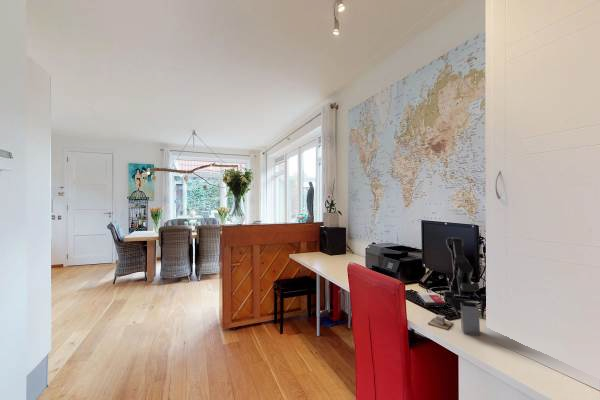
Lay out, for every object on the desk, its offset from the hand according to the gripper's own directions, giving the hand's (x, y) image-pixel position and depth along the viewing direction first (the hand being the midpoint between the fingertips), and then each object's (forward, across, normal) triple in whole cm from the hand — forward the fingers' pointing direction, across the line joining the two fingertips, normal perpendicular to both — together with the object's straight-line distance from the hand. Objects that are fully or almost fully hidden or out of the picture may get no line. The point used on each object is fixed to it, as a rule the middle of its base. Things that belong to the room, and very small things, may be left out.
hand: (470, 316), depth 115 cm
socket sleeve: (+4, 0, +6) cm, 7 cm away
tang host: (+2, -11, +9) cm, 15 cm away
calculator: (-18, -14, +29) cm, 37 cm away
